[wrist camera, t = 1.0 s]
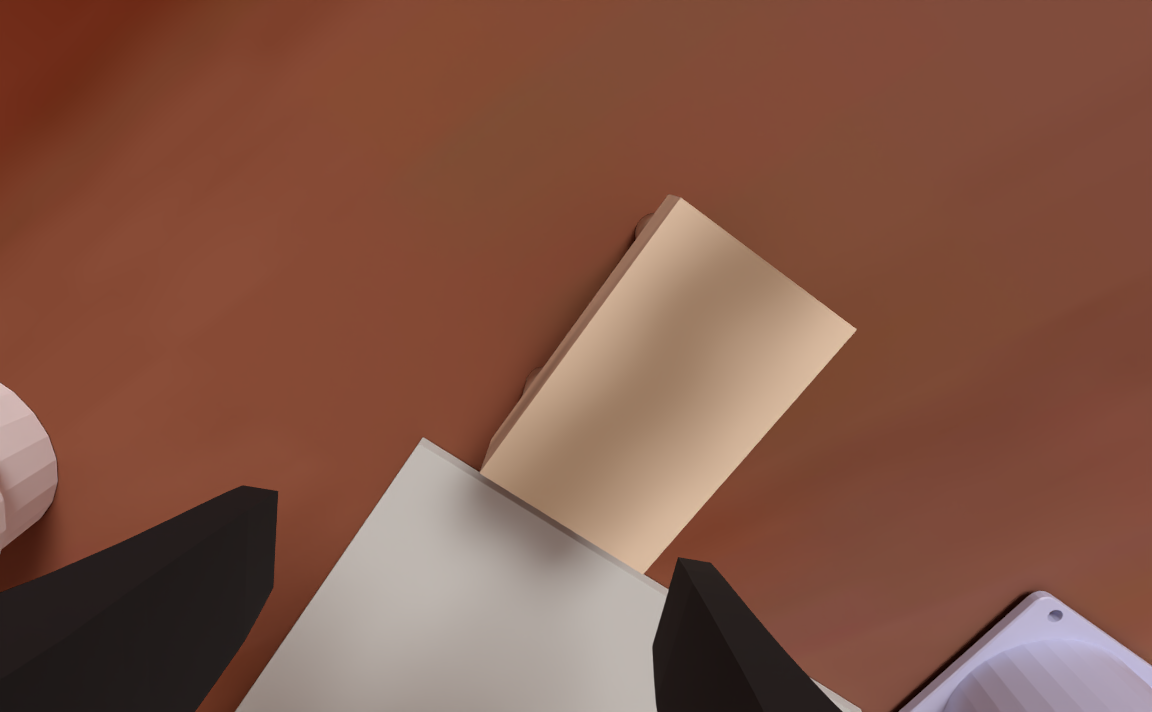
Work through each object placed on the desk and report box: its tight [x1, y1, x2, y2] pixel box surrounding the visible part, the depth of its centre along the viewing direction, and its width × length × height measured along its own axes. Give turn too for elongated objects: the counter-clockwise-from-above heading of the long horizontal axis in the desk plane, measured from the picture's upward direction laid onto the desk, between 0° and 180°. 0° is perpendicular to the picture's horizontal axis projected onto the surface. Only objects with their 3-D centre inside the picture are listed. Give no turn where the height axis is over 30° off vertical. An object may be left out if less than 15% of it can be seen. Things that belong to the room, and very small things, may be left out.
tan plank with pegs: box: [480, 194, 857, 574], centre depth 17 cm, size 5×8×6 cm, turn 145°
